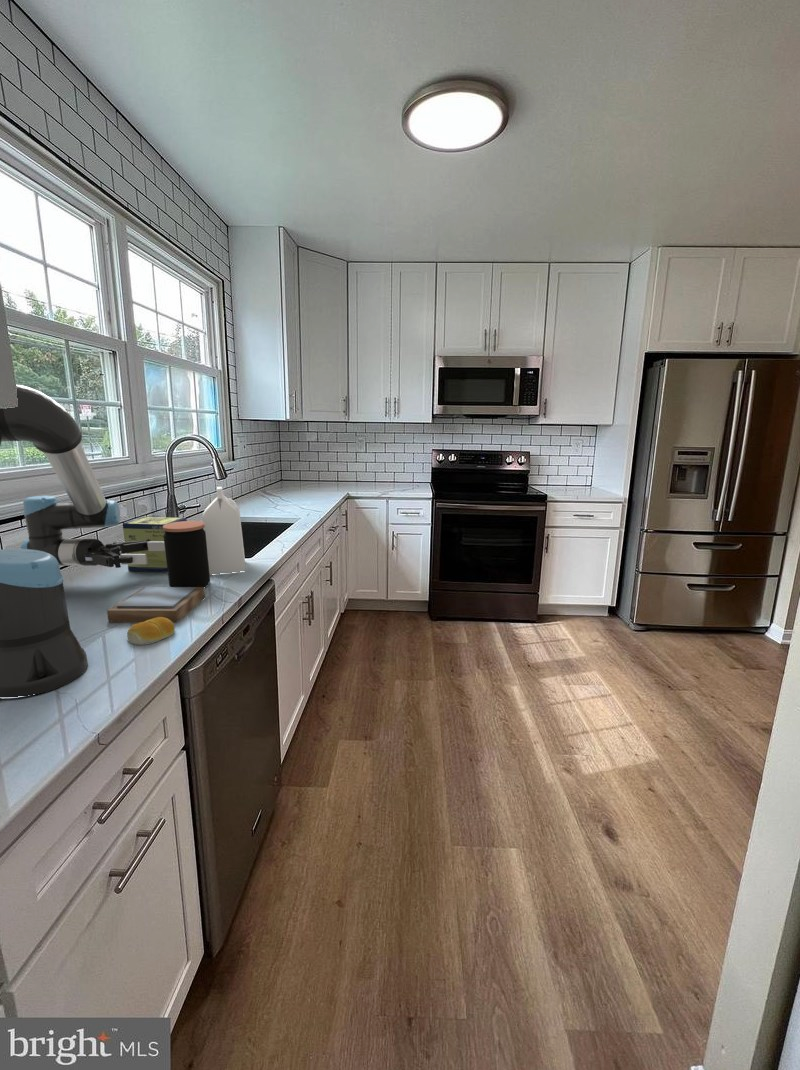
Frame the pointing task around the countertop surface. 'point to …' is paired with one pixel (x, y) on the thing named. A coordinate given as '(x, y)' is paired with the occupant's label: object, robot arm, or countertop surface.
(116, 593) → the countertop surface
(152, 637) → the bread roll
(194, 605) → the plinth
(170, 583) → the coffee jar
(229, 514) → the milk
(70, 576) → the countertop surface
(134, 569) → the protein box
